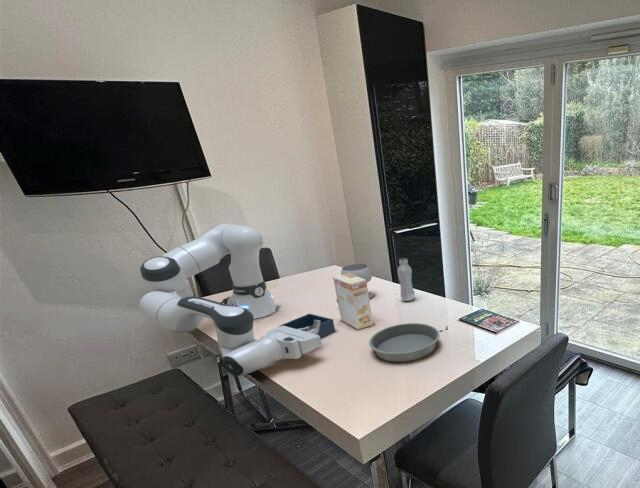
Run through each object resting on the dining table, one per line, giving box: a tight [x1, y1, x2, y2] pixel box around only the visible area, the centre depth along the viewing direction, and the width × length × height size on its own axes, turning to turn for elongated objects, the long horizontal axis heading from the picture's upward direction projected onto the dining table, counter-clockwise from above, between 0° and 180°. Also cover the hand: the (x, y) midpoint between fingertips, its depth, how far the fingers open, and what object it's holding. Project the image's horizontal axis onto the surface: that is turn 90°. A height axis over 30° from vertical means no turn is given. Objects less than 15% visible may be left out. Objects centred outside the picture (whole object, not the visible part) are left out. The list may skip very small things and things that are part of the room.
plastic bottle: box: [396, 257, 416, 302], centre depth 190 cm, size 6×7×20 cm
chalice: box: [340, 263, 374, 299], centre depth 195 cm, size 14×14×15 cm
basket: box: [279, 313, 336, 339], centre depth 159 cm, size 14×14×5 cm
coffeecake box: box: [332, 273, 374, 330], centre depth 166 cm, size 15×7×20 cm, turn 47°
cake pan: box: [368, 322, 440, 363], centre depth 148 cm, size 25×25×4 cm
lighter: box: [306, 320, 321, 332], centre depth 147 cm, size 7×2×8 cm, turn 153°
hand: (313, 329), depth 147 cm, fingers closed on lighter, 2 cm apart
